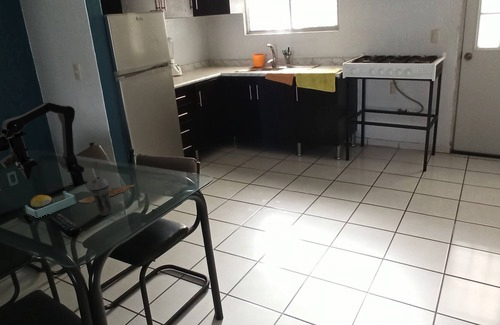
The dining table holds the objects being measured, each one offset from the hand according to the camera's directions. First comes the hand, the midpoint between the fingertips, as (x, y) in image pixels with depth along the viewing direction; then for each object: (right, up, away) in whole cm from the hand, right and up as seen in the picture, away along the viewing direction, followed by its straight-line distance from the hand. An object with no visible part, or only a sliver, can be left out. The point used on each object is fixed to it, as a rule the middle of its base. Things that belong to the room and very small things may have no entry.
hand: (28, 179), depth 188 cm
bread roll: (+7, -11, -2) cm, 14 cm away
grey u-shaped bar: (+16, -13, -10) cm, 23 cm away
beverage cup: (+43, -13, -21) cm, 50 cm away
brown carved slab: (+37, -7, 0) cm, 38 cm away
